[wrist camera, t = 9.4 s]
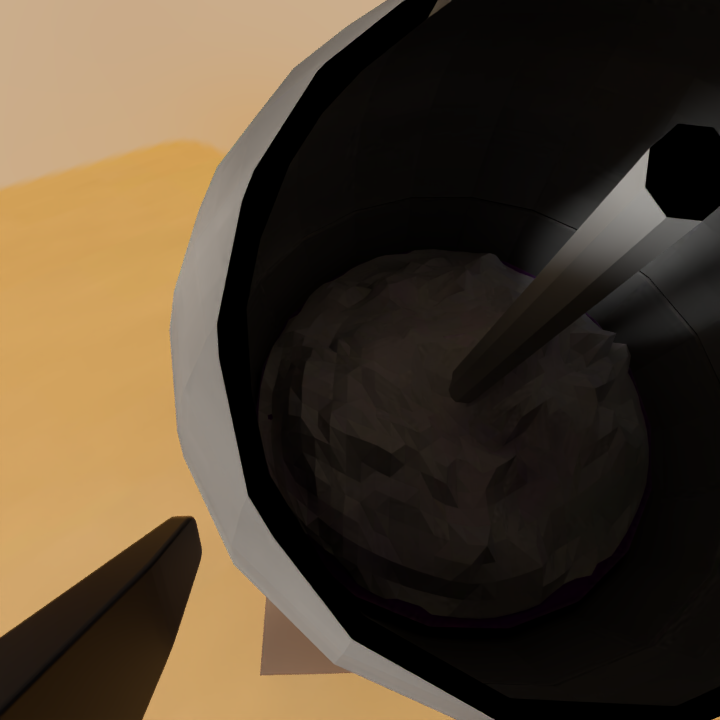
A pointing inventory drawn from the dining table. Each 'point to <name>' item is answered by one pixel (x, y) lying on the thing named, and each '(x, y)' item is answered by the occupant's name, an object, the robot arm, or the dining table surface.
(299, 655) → the walnut board
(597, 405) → the beverage cup
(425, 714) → the dining table surface
